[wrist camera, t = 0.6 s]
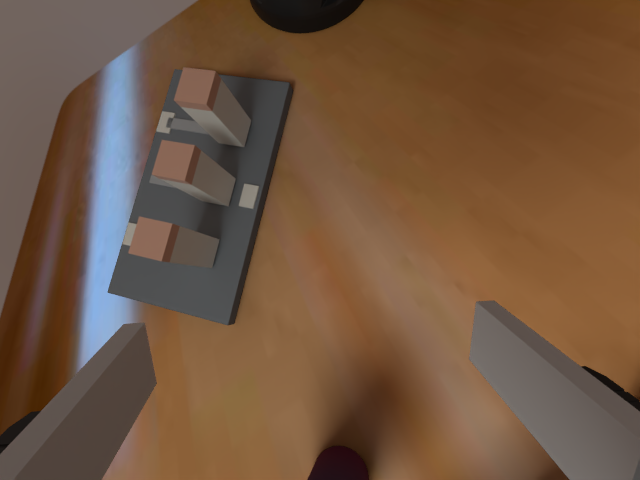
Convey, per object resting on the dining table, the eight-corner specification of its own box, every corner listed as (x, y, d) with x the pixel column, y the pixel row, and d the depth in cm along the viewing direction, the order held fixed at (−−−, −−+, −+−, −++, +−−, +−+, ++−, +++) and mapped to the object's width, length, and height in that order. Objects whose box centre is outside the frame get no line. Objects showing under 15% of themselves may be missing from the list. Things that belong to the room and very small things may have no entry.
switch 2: (209, 174, 34) (161, 139, 26) (235, 178, 34) (194, 145, 26) (202, 201, 34) (151, 174, 26) (228, 206, 33) (184, 180, 26)
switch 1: (225, 117, 35) (183, 67, 27) (251, 120, 34) (215, 71, 27) (218, 143, 35) (173, 100, 27) (244, 147, 34) (206, 104, 26)
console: (182, 77, 39) (173, 68, 37) (293, 91, 36) (289, 81, 35) (118, 292, 36) (105, 292, 34) (234, 323, 33) (226, 325, 32)
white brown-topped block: (193, 233, 34) (139, 216, 26) (219, 239, 33) (172, 223, 25) (185, 262, 33) (128, 253, 25) (212, 268, 33) (161, 261, 25)
